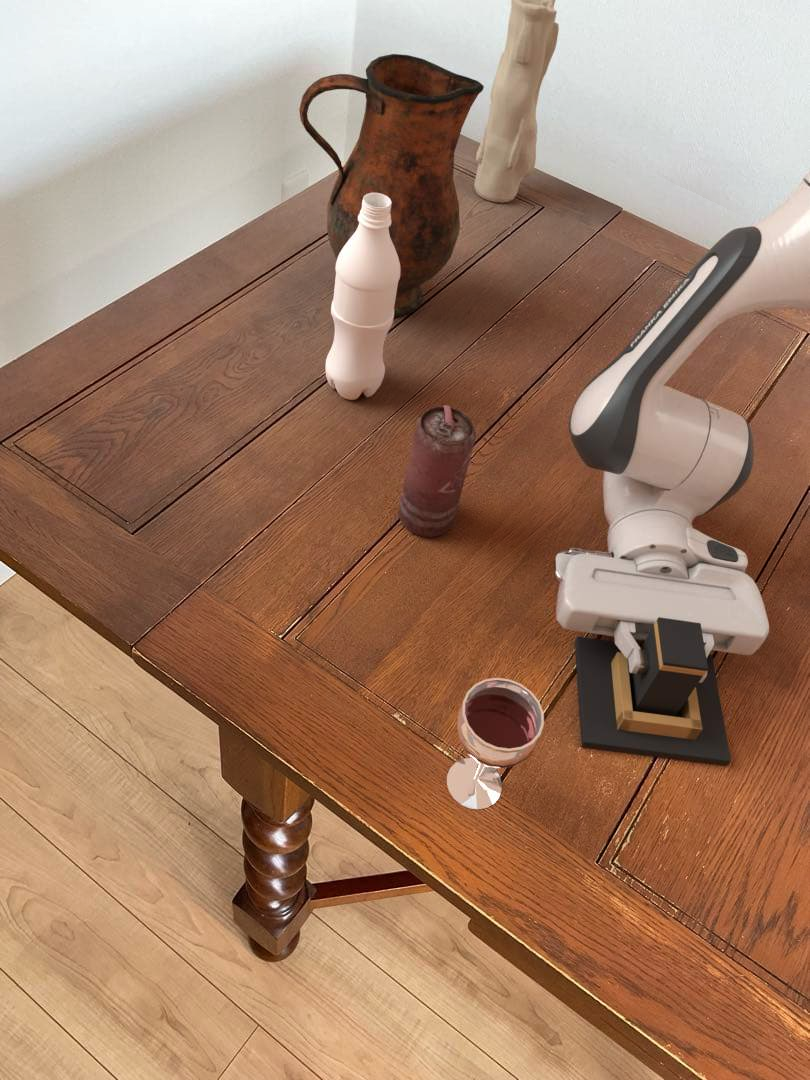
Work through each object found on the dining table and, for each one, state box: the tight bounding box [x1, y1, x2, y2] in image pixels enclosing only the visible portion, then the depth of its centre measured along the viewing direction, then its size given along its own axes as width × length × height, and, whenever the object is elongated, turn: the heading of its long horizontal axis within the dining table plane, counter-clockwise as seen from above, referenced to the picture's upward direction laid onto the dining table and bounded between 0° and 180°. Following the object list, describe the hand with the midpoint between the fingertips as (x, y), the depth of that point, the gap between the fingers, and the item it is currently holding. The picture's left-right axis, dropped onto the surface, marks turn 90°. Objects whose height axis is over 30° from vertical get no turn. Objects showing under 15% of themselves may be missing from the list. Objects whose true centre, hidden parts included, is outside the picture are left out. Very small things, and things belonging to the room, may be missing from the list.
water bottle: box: [324, 193, 400, 401], centre depth 109 cm, size 7×7×25 cm
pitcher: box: [298, 53, 485, 318], centre depth 120 cm, size 17×21×30 cm
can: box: [397, 404, 477, 538], centre depth 101 cm, size 6×6×14 cm
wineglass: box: [446, 677, 545, 810], centre depth 81 cm, size 7×7×12 cm
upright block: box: [629, 617, 708, 717], centre depth 90 cm, size 4×5×9 cm
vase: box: [474, 0, 560, 203], centre depth 143 cm, size 9×8×30 cm
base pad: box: [574, 636, 732, 767], centre depth 93 cm, size 14×12×3 cm
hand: (669, 674), depth 89 cm, fingers closed on upright block, 4 cm apart
